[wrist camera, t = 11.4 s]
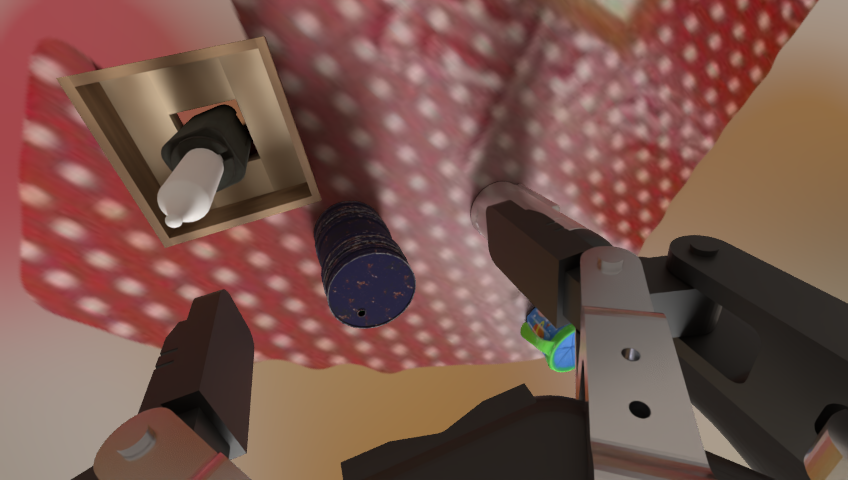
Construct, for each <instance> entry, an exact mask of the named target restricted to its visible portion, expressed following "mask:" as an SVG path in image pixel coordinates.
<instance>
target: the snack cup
mask: <svg viewBox="0 0 848 480" xmlns="http://www.w3.org/2000/svg"><path fill="white" fill-rule="evenodd" d="M521 335H522V337H523V338H525V339H526V340H527V341H529V342H530V343H531V344H533V345H534V346H535V347H536V348H538V349H539V350H540V351H542V353H543V354H544V355H545V358H546V361H547V363H548V366H549V367H550V368H551V369H552V370H555V371H557V372H567V371H570V370H573V369H575V327H574V326H573V325H572V324H571V323H570V324H567V325H565V326H562V327H560V328H557V329H556V328H555V327H554V326H553V325H552V324H551V323H550V322H549V321H548V319H547V318H546V317H545V316H544V315H543V314H542V313H541V312H540V311H539V310H538V309H537V308H536V307H535V308H534V309H533V310H532V311H531V313H530V314H529V315H528V316H527V322H525V323H523V325H522V327H521Z"/></svg>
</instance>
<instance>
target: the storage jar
mask: <svg viewBox="0 0 848 480" xmlns="http://www.w3.org/2000/svg"><path fill="white" fill-rule="evenodd" d="M314 239H315V248H316V253H317V256H318V260H319V262H320V265H321V267H322V271H321V276H322V282H323V286H324V291H325V294H326V296H327V300H328V305H329V308H330V310H331V312H332V314H333V315H334V316H335V317H336V318H337V319H338V320H339V321H340V322H342V323H343V324H345V325H348V326H351V327H354V328H374V327H378V326H382V325H384V324H387V323H389V322H391V321H392V320H394V319H395V318H397V317H398V316H399V315H401V314H402V313H403V312H404V311H405V310H406V308H407V307H408V306H409V304H410V303H411V301H412V299H413V296H414V293H415V288H416V280H415V275H414V273H413V271H412V269H411V267H410V266H409V264H408V262H407V259H406V257H405V256H404V254H403V253H402V251H401V249H400V247H399V246H398V244H397V243H396V242H395V241H394V240H392V237H391V235H390V232H389V230H388V228H387V226H386V225H385V223H384V222H383V220H382V219H381V218H380V217H379V215H378V214H377V212H376V211H375V210H374V209H373V208H371V207H370V206H368V205H366V204H364V203H361V202H357V201H345V202H340V203H337V204H335V205H333V206H331V207H329V208H328V209H327V210H326V211H324V212H323V213H322V215H321V216H320V217H319V219H318V221H317V223H316V225H315V229H314Z"/></svg>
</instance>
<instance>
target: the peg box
mask: <svg viewBox="0 0 848 480" xmlns="http://www.w3.org/2000/svg"><path fill="white" fill-rule="evenodd" d="M56 79H57V80H58V82H59V83H60V85H61V86H62V88H63V90H64V91H65V93H66V94H67V96H68V97H69V99H70V100H71V102H72V104H73V105H74V107H75V108H76V110H77V111H78V113H79V114H80V116H81V118H82V119H83V121H84V122H85V124H86V125H87V127H88V128H89V130H90V132H91V133H92V135H93V136H94V138H95V139H96V141H97V142H98V144H99V146H100V147H101V149H102V150H103V152H104V153H105V155H106V156H107V158H108V160H109V161H110V163H111V164H112V166H113V167H114V169H115V170H116V172H117V174H118V175H119V177H120V178H121V180H122V181H123V183H124V184H125V186H126V188H127V189H128V191H129V192H130V194H131V195H132V197H133V199H134V200H135V202H136V203H137V205H138V206H139V208H140V209H141V211H142V213H143V214H144V216H145V217H146V219H147V220H148V222H149V223H150V225H151V227H152V228H153V230H154V231H155V233H156V234H157V236H158V237H159V239H160V241H161V242H162V244H163V245H164V247H165V248H166V247H169V246H173V245H176V244H179V243H183V242H186V241H189V240H193V239H196V238H199V237H203V236H206V235H209V234H212V233H216V232H219V231H222V230H226V229H229V228H232V227H236V226H239V225H242V224H246V223H249V222H252V221H255V220H259V219H262V218H265V217H269V216H272V215H275V214H279V213H282V212H285V211H289V210H292V209H295V208H298V207H302V206H305V205H308V204H312V203H315V202H318V201H322V200H321V197H320V193H319V190H318V187H317V184H316V181H315V177H314V175H313V172H312V169H311V166H310V163H309V160H308V157H307V155H306V152H305V149H304V146H303V143H302V140H301V138H300V135H299V132H298V129H297V126H296V123H295V120H294V118H293V115H292V112H291V109H290V106H289V103H288V101H287V98H286V95H285V92H284V89H283V86H282V83H281V81H280V78H279V75H278V72H277V69H276V66H275V63H274V61H273V58H272V55H271V52H270V49H269V46H268V44H267V41H266V38H265V37H264V36H263V37H258V38H253V39H248V40H243V41H238V42H234V43H229V44H224V45H219V46H214V47H209V48H205V49H199V50H194V51H189V52H184V53H179V54H174V55H169V56H165V57H160V58H155V59H150V60H145V61H140V62H135V63H131V64H125V65H121V66H116V67H110V68H106V69H101V70H96V71H91V72H86V73H81V74H76V75H71V76H66V77H61V78H56ZM234 99H236V101H237V103H238V106H239V108H240V111H241V113H242V115H243V118H244V120H245V123H246V125H247V127H248V130H249V132H250V134H251V137H252V139H253V142H254V144H255V146H256V149H257V151H258V153H256V154H252V155H249V158H248V163H247V168H246V173H245V176H244V178H243V179H242V180H241V181H240V182H238V183H236V184H234V185H232V186H230V187H227V188H225V189H223V190H221V191H219V192H216V193H215V196H214V198H213V201H212V204H211V206H210V209H209V211H208V213H207V214H206V215H205V216H204V217H202V218H201V219H199V220H197V221H194V222H183V223H182V225H181V226H179V227H177V228H172V227H169V226H168V225H167V224H166V223H165V218H166V215H165V214H164V213H163V212H162V210H161V209H160V207H159V205H158V202H157V195H158V192H159V189H160V188H161V187H162V185H163V184H164V183H165V181H166V180H167V179H168V177H169V176H170V175H171V173H172V171H171V170H170V169H169V167H168V166H167V165H166V164H165V162H164V161H163V159H162V156H161V149H162V147H163V146H164V144H165V143H166V142H167V141H169V140H170V139H171V138H172V137H173V136H174V135H175V134H176V133H177V132H178V131H179V130H180V129H181V128H182V127H183V124H182V122H181V120H180V118H179V116H178V115H177V113H178V112H183V111H186V110H191V109H195V108H200V107H204V106H208V105H213V104H217V103H221V102H225V101H229V100H234Z"/></svg>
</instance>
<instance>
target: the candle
mask: <svg viewBox="0 0 848 480" xmlns="http://www.w3.org/2000/svg"><path fill="white" fill-rule="evenodd" d="M251 142H252V138H251V135H250V134H249V133H247V132H246V130H245V128H244V127H243V125H242V124H241V122H240V120H239V119H238V117H237V116H236V111H235V109H233V108H232V107H231V106H229V105H219V106H217V107H214V108H212V109H210V110H207V111H205V112H202V113H200V114H198V115H195V116H194V117H192V118H191V119H190V120H189V121H188V122H187V123H186V124H185V125H184V126H183V127H182V128H181V129H180V130H179V131H178V132H177V133H176V134H175V135H174V136H173V137H172V138H171V139H170V140H169V141H167V142H166V143H165V144H164V146H163V147H162V149H161V156H162V159H163V161H164V162H165V164H166V165H167V166H168V167H169V169H170V170H171V171H172V173H171V175H170V176H169V177H168V179H167V180H166V181H165V183H164V184H163V185H162V187H161V188H160V189H159V192H158V195H157V202H158V205H159V207H160V209H161V210H162V212H163V213H164V214H165V215H166V218H165V223H166V224H167V225H168V226H169V227H172V228H177V227H179V226H181V225H182V223H183V222H194V221H197V220H199V219H201V218H202V217H204V216H205V215H206V214H207V213H208V211H209V209H210V206H211V204H212V201H213V198H214V196H215V193H216V192H219V191H221V190H223V189H225V188H227V187H230V186H232V185H234V184H236V183H238V182H240V181H241V180H242V179H243V178H244V176H245V173H246V168H247V163H248V158H249V153H250V147H251Z"/></svg>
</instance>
